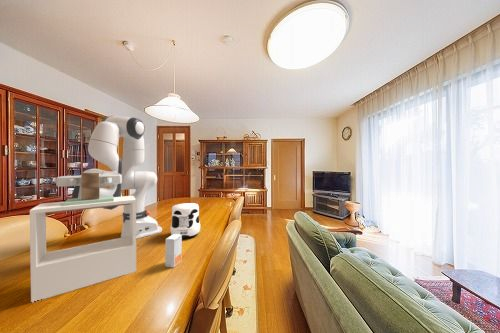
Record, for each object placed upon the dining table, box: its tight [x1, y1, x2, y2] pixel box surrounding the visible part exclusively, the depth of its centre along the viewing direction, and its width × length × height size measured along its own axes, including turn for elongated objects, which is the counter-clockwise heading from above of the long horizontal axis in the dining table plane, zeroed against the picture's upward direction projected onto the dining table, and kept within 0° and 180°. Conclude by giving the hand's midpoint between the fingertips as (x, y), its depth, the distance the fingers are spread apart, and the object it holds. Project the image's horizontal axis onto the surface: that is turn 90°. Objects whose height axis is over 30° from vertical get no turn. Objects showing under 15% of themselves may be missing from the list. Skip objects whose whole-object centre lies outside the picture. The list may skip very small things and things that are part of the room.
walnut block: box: [80, 172, 100, 201], centre depth 71 cm, size 5×5×10 cm
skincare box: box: [164, 234, 183, 268], centre depth 82 cm, size 6×4×12 cm
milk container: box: [170, 202, 201, 239], centre depth 115 cm, size 17×17×18 cm
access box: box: [29, 195, 137, 303], centre depth 72 cm, size 28×12×30 cm, turn 127°
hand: (90, 181), depth 71 cm, fingers open, 8 cm apart
